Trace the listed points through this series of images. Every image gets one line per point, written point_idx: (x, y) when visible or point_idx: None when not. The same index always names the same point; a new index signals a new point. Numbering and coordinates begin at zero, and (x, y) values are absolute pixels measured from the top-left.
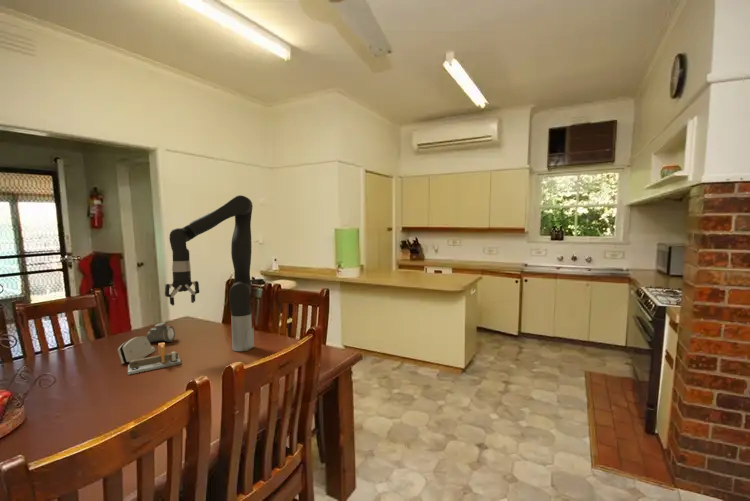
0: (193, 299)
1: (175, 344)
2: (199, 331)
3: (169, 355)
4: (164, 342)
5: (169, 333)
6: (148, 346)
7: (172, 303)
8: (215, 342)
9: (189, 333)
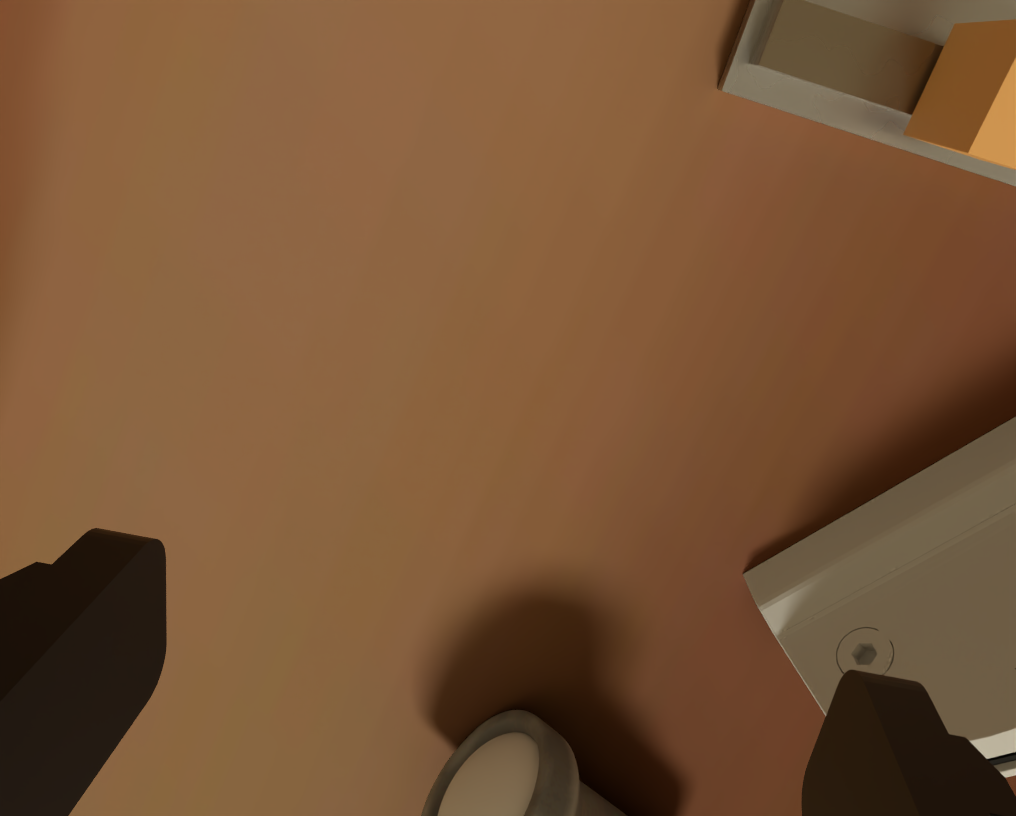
0: (37, 603)
1: (510, 598)
2: (161, 788)
3: (889, 28)
4: (973, 144)
5: (509, 784)
6: (826, 627)
7: (940, 743)
8: (154, 291)
9: (261, 806)
